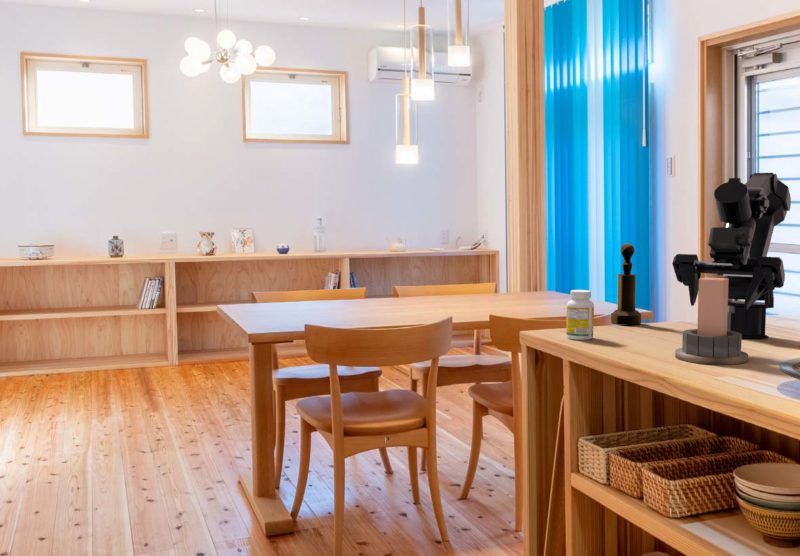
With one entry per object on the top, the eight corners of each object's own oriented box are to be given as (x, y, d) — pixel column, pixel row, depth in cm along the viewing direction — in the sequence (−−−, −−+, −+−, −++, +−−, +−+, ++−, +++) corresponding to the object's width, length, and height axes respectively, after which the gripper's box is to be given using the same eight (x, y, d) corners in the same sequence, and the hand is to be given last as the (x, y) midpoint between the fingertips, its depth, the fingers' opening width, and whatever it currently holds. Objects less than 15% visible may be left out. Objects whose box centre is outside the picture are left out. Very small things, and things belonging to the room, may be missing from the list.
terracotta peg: (702, 349, 149) (705, 277, 148) (726, 352, 147) (728, 278, 145) (696, 353, 146) (698, 279, 144) (720, 355, 143) (723, 280, 142)
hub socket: (733, 352, 152) (734, 327, 152) (759, 365, 140) (760, 338, 140) (666, 351, 152) (667, 327, 152) (687, 364, 140) (688, 338, 140)
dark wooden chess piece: (621, 320, 192) (622, 242, 191) (646, 323, 188) (648, 243, 186) (605, 323, 188) (607, 243, 186) (631, 326, 183) (633, 244, 181)
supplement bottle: (580, 341, 164) (581, 292, 164) (560, 337, 169) (561, 290, 168) (599, 338, 168) (599, 291, 167) (578, 335, 172) (579, 288, 171)
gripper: (676, 210, 156) (656, 274, 148) (784, 211, 146) (768, 279, 138) (687, 250, 164) (669, 312, 156) (791, 253, 153) (776, 320, 145)
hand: (718, 306), depth 148 cm, fingers open, 9 cm apart
